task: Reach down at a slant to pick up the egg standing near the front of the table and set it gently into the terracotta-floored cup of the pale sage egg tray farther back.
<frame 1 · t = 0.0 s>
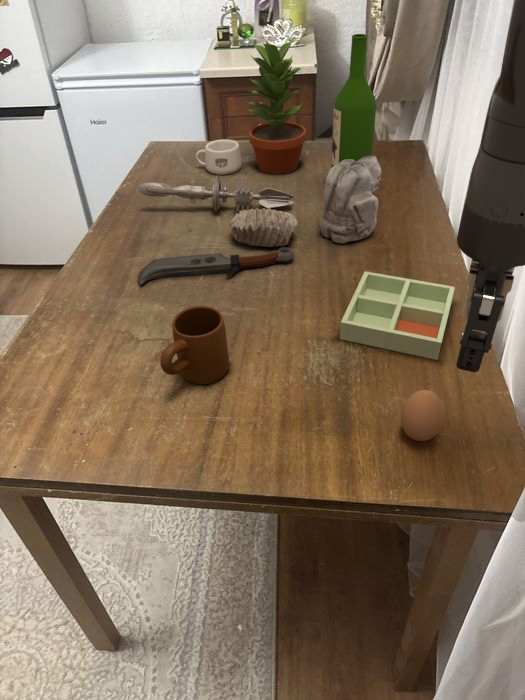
hand: (471, 342, 57), 18 cm above the table, tool pointing down, fingers open, 8 cm apart
mug: (196, 378, 81), on the table
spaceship: (217, 211, 123), on the table
mug 2: (219, 169, 141), on the table
wine bottle: (349, 192, 127), on the table
egg tray: (397, 320, 89), on the table
potted plant: (277, 166, 141), on the table
seashell: (263, 239, 112), on the table
knife: (217, 271, 104), on the table
figurine: (348, 233, 113), on the table
egg: (417, 436, 71), on the table
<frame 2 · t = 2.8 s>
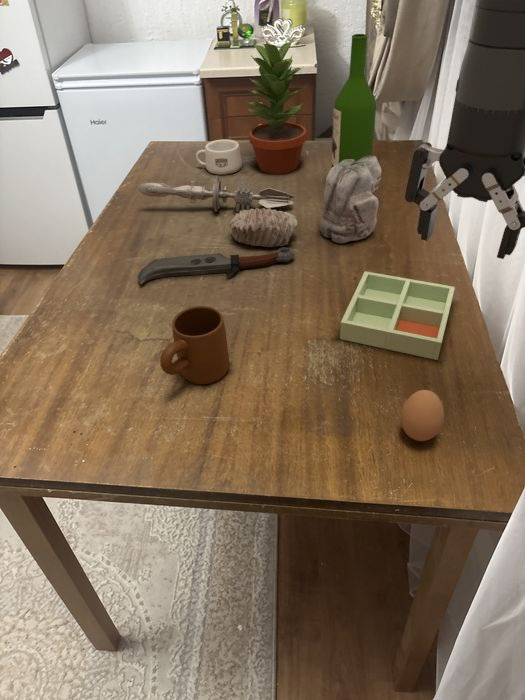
hand: (462, 246, 61), 24 cm above the table, tool pointing down, fingers open, 8 cm apart
nothing on the table moved.
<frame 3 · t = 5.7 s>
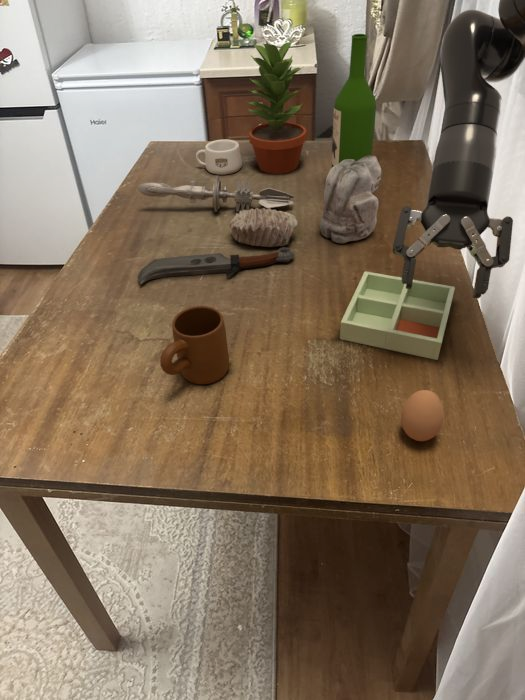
hand: (442, 292, 69), 15 cm above the table, tool tilted 45°, fingers open, 8 cm apart
nothing on the table moved.
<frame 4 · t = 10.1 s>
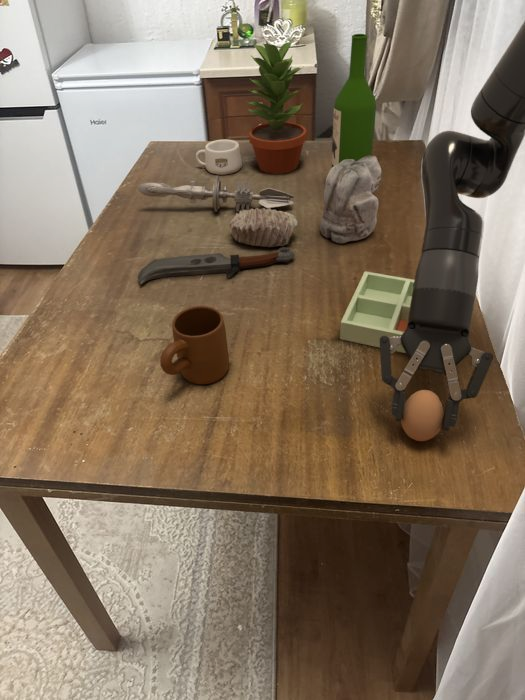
hand: (421, 424, 67), 4 cm above the table, tool tilted 45°, fingers closed on egg, 5 cm apart
egg: (417, 436, 71), on the table, touching gripper
everything else where it was.
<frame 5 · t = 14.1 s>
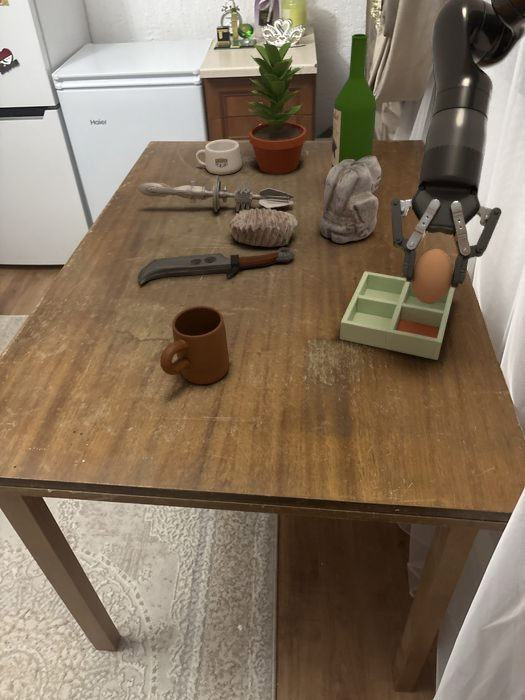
hand: (431, 283, 69), 16 cm above the table, tool tilted 45°, fingers closed on egg, 5 cm apart
egg: (427, 302, 73), point 12 cm above the table, touching gripper
everything else where it was.
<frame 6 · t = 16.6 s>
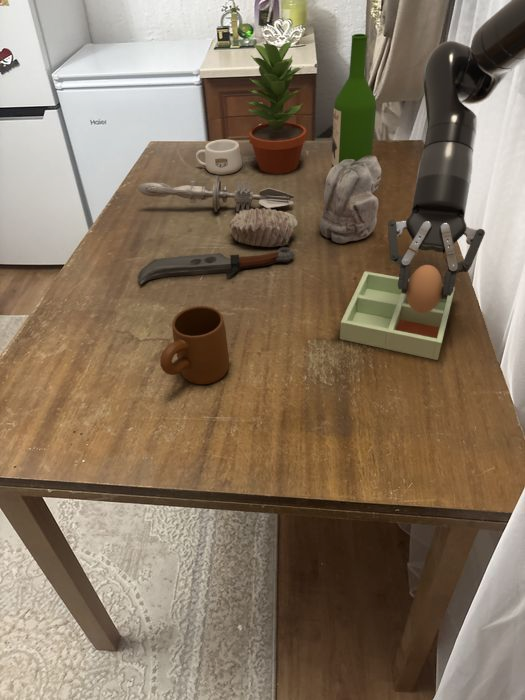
hand: (424, 295, 78), 10 cm above the table, tool tilted 45°, fingers closed on egg, 5 cm apart
egg: (420, 311, 82), point 5 cm above the table, touching gripper
everything else where it was.
when the fingers open (5 cm above the table, at t = 18.4 s): egg stays where it is, resting on egg tray.
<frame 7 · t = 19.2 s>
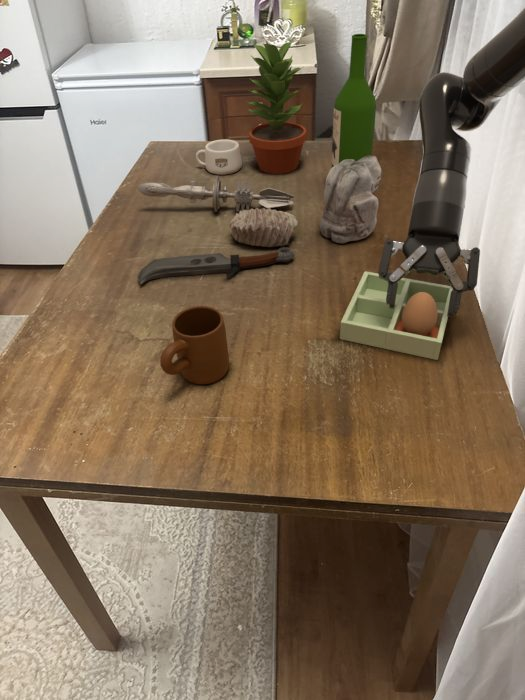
hand: (420, 312, 81), 6 cm above the table, tool tilted 45°, fingers open, 8 cm apart
egg: (416, 335, 86), point 1 cm above the table, touching egg tray
everything else where it was.
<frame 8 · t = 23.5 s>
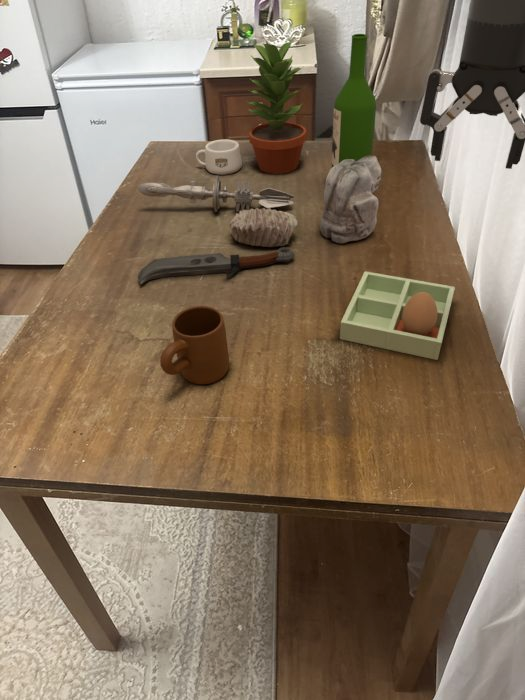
hand: (472, 162, 68), 28 cm above the table, tool pointing down, fingers open, 8 cm apart
nothing on the table moved.
at the end: egg 0.2 cm from the target spot in the egg tray, point 0.5 cm above the egg tray's base; the gripper is holding nothing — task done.
